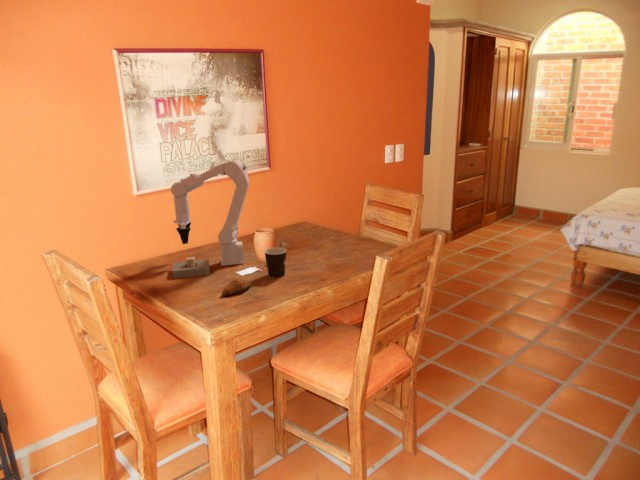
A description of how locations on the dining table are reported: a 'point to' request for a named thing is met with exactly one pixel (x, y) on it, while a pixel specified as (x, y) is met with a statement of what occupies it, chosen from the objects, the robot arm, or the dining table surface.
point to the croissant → (236, 287)
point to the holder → (191, 269)
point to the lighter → (282, 245)
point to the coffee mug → (276, 261)
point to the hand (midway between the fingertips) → (185, 241)
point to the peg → (190, 261)
